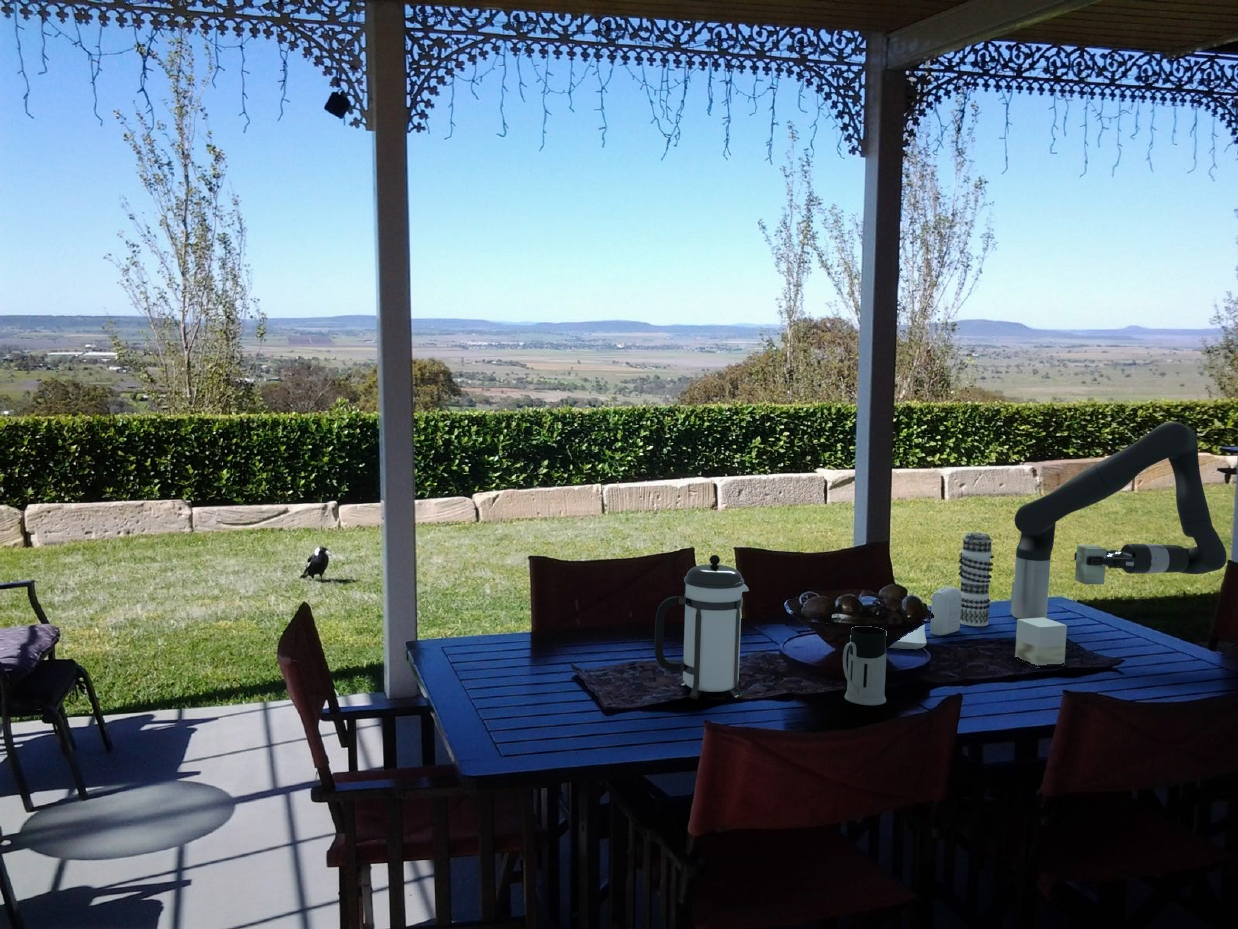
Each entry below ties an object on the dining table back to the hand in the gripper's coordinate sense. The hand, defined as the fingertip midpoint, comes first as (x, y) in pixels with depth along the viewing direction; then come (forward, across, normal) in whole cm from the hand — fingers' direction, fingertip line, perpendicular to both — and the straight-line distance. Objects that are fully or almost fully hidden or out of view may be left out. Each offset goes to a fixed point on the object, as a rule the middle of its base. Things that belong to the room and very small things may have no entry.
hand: (1081, 558), depth 276 cm
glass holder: (+69, +37, +24) cm, 82 cm away
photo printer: (+26, -19, +24) cm, 40 cm away
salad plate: (+46, -12, +24) cm, 54 cm away
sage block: (-3, 0, +6) cm, 7 cm away
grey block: (+14, +9, +19) cm, 25 cm away
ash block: (+14, +9, +24) cm, 29 cm away
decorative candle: (+14, -30, +24) cm, 41 cm away
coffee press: (+101, +29, +24) cm, 108 cm away
